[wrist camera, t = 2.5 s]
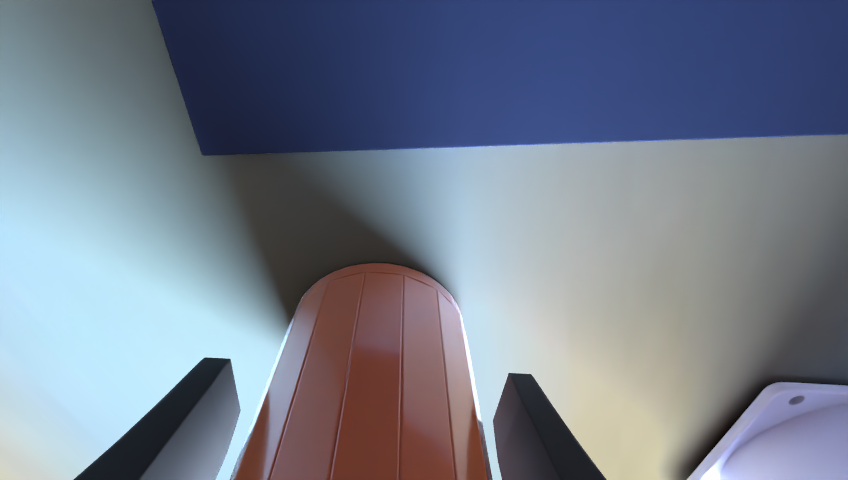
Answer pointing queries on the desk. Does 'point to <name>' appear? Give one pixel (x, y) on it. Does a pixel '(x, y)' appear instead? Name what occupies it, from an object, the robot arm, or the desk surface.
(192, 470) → the robot arm
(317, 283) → the cup
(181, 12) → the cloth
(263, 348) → the desk surface
